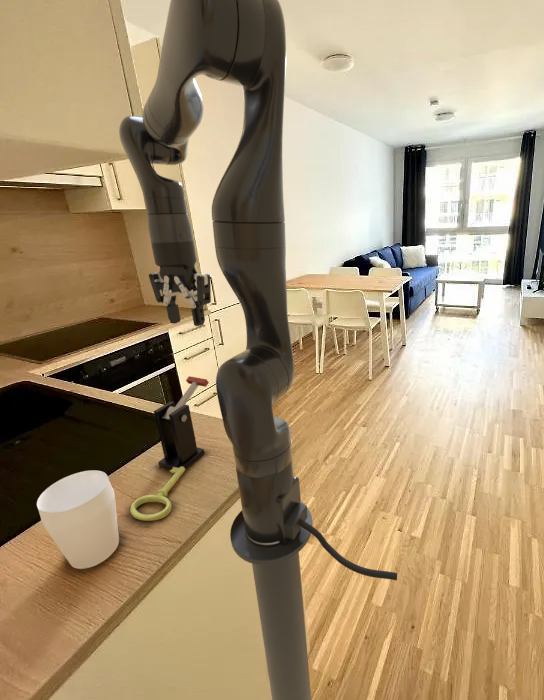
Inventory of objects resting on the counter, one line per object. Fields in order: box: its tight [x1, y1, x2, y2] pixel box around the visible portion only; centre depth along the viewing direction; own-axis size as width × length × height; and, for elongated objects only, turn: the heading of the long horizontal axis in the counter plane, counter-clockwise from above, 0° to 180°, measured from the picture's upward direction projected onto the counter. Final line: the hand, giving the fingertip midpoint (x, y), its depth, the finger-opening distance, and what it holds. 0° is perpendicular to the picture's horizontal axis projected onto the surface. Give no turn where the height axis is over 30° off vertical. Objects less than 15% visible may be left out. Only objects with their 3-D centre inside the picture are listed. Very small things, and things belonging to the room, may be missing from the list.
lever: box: [162, 376, 210, 424], centre depth 76 cm, size 11×5×2 cm, turn 157°
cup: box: [36, 469, 120, 570], centre depth 55 cm, size 9×9×12 cm
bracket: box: [153, 401, 205, 471], centre depth 75 cm, size 7×6×13 cm
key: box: [129, 467, 186, 522], centre depth 67 cm, size 7×12×2 cm, turn 6°
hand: (187, 323), depth 75 cm, fingers open, 5 cm apart
